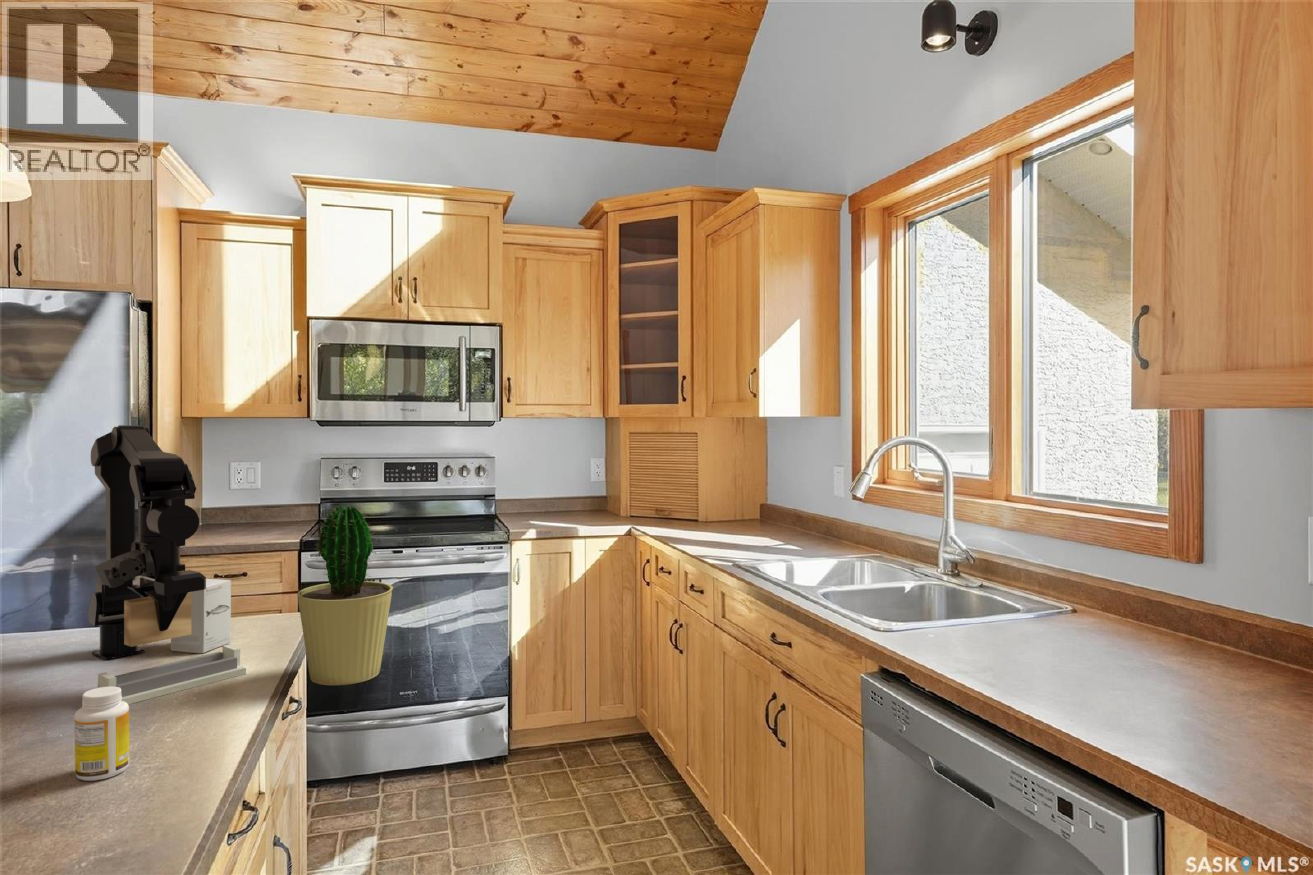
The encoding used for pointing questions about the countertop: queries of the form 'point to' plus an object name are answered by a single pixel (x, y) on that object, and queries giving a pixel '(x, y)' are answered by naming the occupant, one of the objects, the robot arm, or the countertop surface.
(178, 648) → the supplement box
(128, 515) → the robot arm
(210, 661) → the track board
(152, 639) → the door panel
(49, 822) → the countertop surface
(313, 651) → the potted cactus
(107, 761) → the supplement bottle
